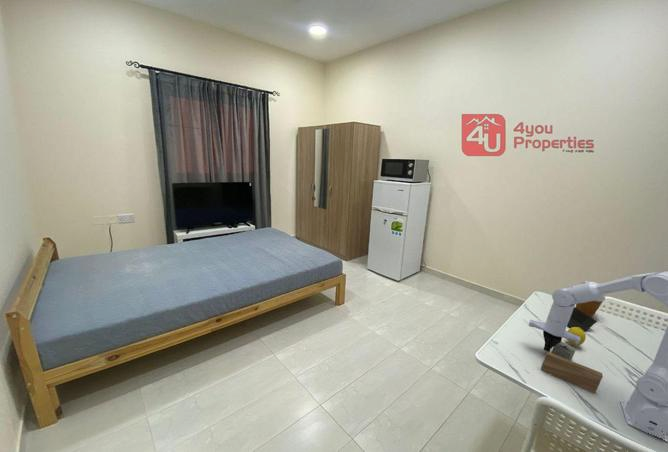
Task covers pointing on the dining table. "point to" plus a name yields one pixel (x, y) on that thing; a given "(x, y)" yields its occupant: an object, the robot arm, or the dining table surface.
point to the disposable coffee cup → (590, 306)
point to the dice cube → (563, 350)
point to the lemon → (577, 332)
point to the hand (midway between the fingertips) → (546, 349)
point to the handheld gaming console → (580, 320)
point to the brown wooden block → (571, 372)
